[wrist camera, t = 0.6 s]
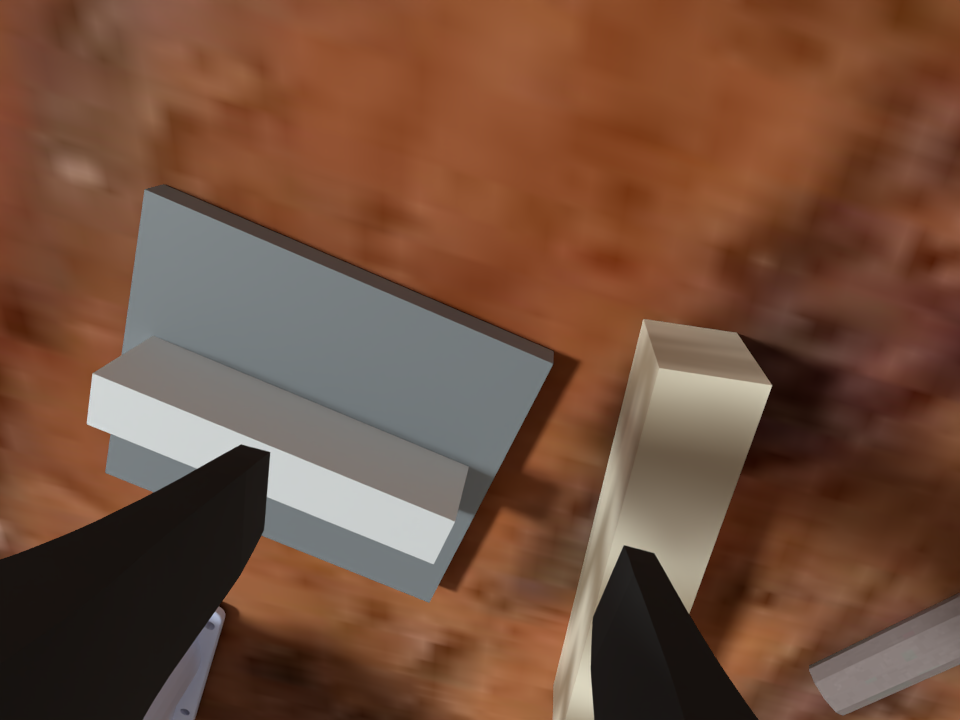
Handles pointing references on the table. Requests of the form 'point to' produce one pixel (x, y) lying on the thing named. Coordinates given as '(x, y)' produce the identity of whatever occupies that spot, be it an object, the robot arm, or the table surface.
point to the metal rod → (891, 658)
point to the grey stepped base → (312, 390)
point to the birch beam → (665, 475)
